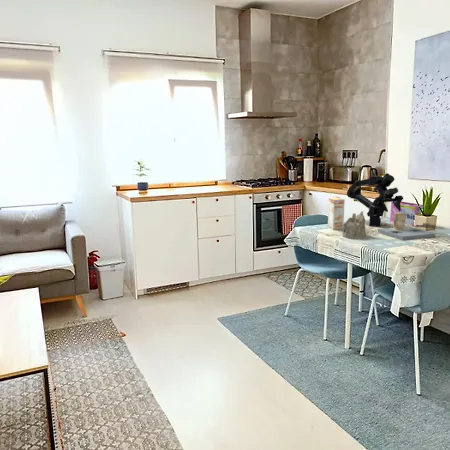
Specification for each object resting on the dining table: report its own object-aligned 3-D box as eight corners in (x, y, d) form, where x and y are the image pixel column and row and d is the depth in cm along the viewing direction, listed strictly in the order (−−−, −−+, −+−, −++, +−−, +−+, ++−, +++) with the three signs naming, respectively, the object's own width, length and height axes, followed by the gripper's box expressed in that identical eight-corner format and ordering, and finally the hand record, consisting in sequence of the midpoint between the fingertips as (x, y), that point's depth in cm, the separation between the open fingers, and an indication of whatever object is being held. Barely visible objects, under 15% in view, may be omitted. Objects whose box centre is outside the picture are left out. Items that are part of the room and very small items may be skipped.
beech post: (393, 228, 259) (394, 212, 257) (399, 228, 260) (400, 212, 258) (398, 230, 254) (399, 213, 252) (404, 229, 256) (405, 213, 254)
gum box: (388, 220, 296) (389, 201, 293) (396, 219, 299) (398, 200, 296) (414, 226, 274) (416, 206, 272) (424, 225, 277) (425, 205, 275)
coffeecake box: (343, 229, 269) (345, 199, 265) (332, 229, 269) (333, 199, 265) (338, 225, 283) (339, 196, 280) (327, 225, 283) (328, 196, 280)
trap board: (377, 232, 259) (378, 229, 259) (408, 229, 265) (408, 226, 265) (402, 239, 238) (402, 236, 238) (435, 236, 245) (435, 233, 244)
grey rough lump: (351, 231, 263) (352, 207, 260) (371, 237, 249) (372, 212, 245) (332, 235, 257) (332, 211, 253) (352, 242, 242) (352, 216, 239)
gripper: (376, 184, 260) (387, 203, 252) (402, 182, 265) (413, 202, 257) (368, 195, 269) (378, 215, 261) (393, 193, 274) (404, 213, 266)
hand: (393, 211), depth 261 cm, fingers open, 9 cm apart
